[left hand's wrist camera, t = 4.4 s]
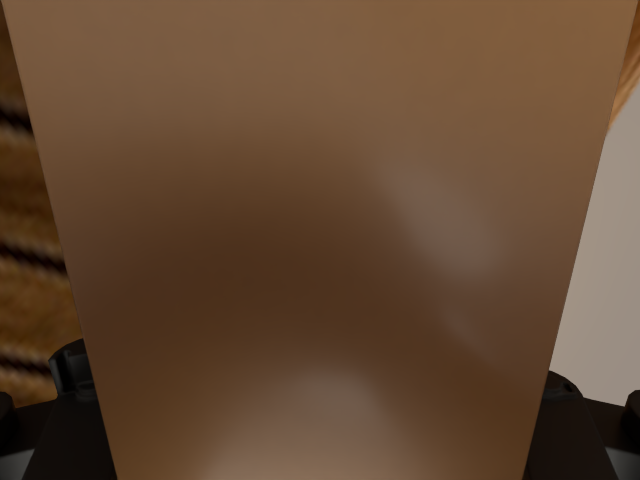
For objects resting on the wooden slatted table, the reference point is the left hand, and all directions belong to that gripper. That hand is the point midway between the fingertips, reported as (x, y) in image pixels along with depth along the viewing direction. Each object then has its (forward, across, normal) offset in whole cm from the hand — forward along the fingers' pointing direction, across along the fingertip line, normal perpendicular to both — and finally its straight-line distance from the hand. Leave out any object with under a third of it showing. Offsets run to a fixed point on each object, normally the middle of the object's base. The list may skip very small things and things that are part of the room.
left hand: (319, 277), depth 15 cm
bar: (+1, 0, -8) cm, 9 cm away
